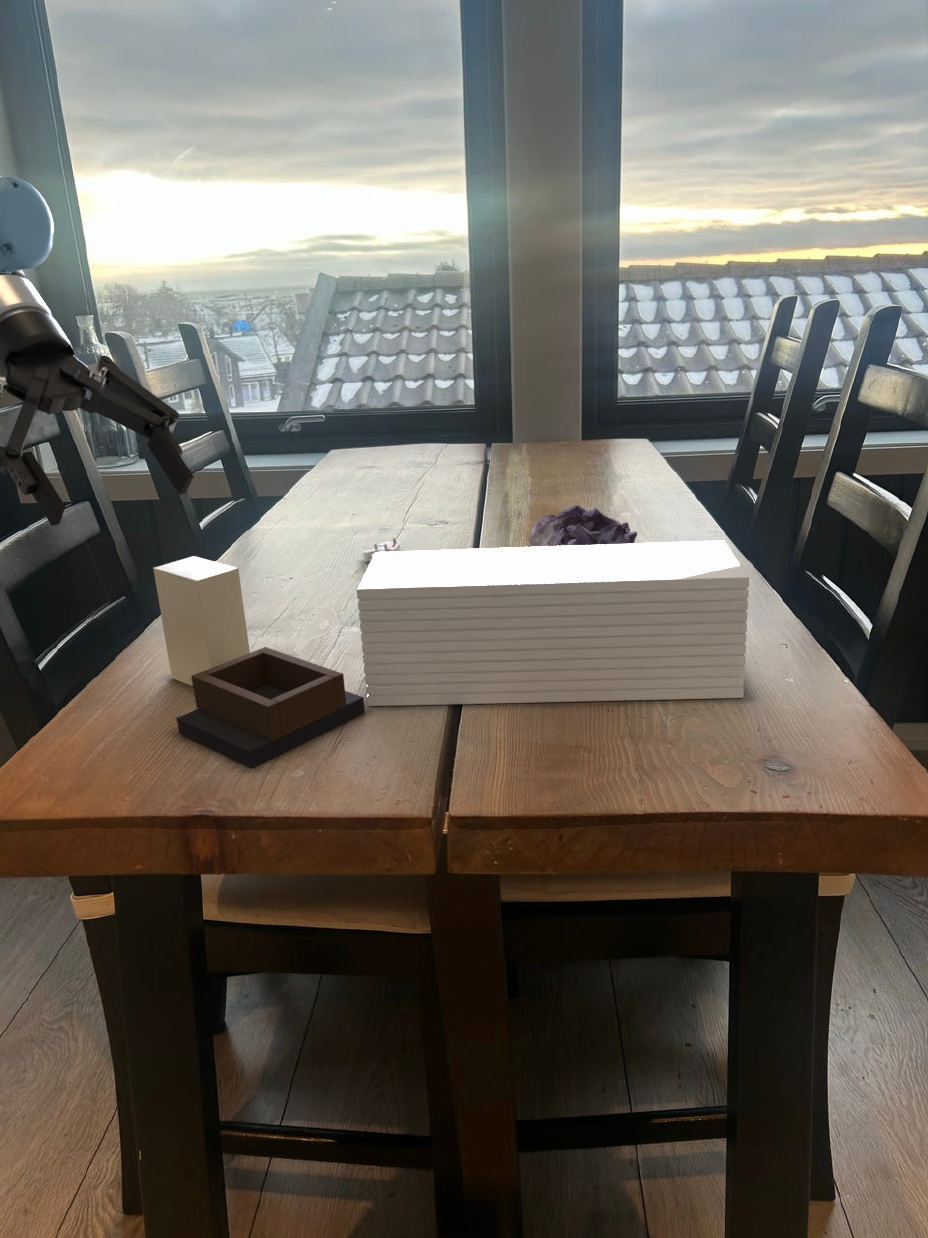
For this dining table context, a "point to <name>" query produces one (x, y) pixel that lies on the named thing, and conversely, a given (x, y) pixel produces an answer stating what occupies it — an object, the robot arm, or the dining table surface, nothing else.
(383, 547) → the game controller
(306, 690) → the square socket base
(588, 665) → the stack of papers
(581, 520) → the geode
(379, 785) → the dining table surface
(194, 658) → the cream rectangular block
